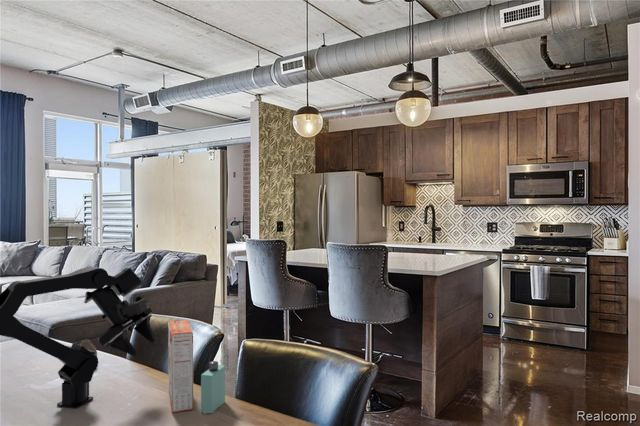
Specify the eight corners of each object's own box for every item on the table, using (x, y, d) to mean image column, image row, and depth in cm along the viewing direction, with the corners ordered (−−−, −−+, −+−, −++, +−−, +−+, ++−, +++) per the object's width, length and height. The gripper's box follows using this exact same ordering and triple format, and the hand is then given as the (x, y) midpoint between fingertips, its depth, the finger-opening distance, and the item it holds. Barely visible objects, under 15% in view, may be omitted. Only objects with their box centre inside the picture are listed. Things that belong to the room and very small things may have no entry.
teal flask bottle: (211, 414, 122) (211, 368, 122) (201, 412, 122) (201, 367, 122) (225, 401, 129) (225, 358, 129) (215, 400, 130) (215, 357, 130)
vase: (101, 363, 160) (101, 338, 160) (89, 370, 153) (89, 343, 153) (82, 362, 160) (82, 337, 160) (69, 369, 154) (69, 343, 153)
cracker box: (167, 393, 135) (167, 320, 135) (189, 390, 137) (189, 319, 137) (169, 413, 122) (170, 333, 122) (193, 410, 124) (194, 331, 124)
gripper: (109, 299, 123) (146, 346, 123) (148, 280, 141) (180, 320, 141) (82, 323, 125) (118, 369, 125) (123, 301, 144) (155, 341, 143)
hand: (145, 348), depth 134 cm, fingers open, 9 cm apart
